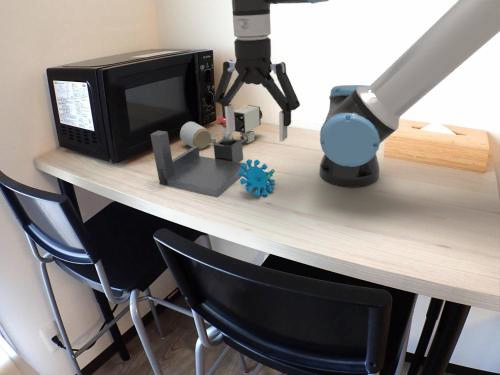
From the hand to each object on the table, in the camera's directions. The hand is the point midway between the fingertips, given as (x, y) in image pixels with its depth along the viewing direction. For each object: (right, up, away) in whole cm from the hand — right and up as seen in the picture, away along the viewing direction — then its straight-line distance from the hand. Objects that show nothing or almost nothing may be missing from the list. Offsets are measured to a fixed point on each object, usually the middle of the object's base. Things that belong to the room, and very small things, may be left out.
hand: (256, 135), depth 86 cm
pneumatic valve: (-3, +3, +37) cm, 38 cm away
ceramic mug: (-18, +2, +36) cm, 41 cm away
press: (-12, -8, +17) cm, 23 cm away
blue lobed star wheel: (+1, -13, +7) cm, 15 cm away
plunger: (-8, 0, +21) cm, 23 cm away
